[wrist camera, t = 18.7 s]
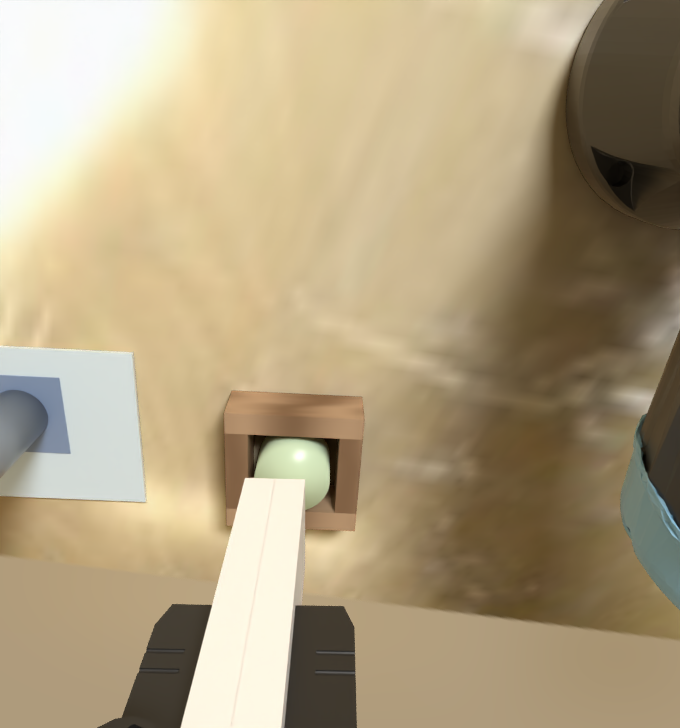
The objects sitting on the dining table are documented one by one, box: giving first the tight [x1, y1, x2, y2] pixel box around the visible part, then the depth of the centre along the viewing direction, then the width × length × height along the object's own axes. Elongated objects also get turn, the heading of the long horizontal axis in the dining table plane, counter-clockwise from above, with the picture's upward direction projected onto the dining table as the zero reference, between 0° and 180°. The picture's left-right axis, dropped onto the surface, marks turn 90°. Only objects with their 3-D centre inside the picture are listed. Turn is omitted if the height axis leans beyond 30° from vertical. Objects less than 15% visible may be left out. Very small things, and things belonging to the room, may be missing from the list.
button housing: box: [224, 391, 364, 531], centre depth 41 cm, size 9×9×3 cm
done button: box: [254, 435, 330, 510], centre depth 40 cm, size 5×5×3 cm
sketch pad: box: [0, 346, 147, 502], centre depth 41 cm, size 16×12×1 cm
